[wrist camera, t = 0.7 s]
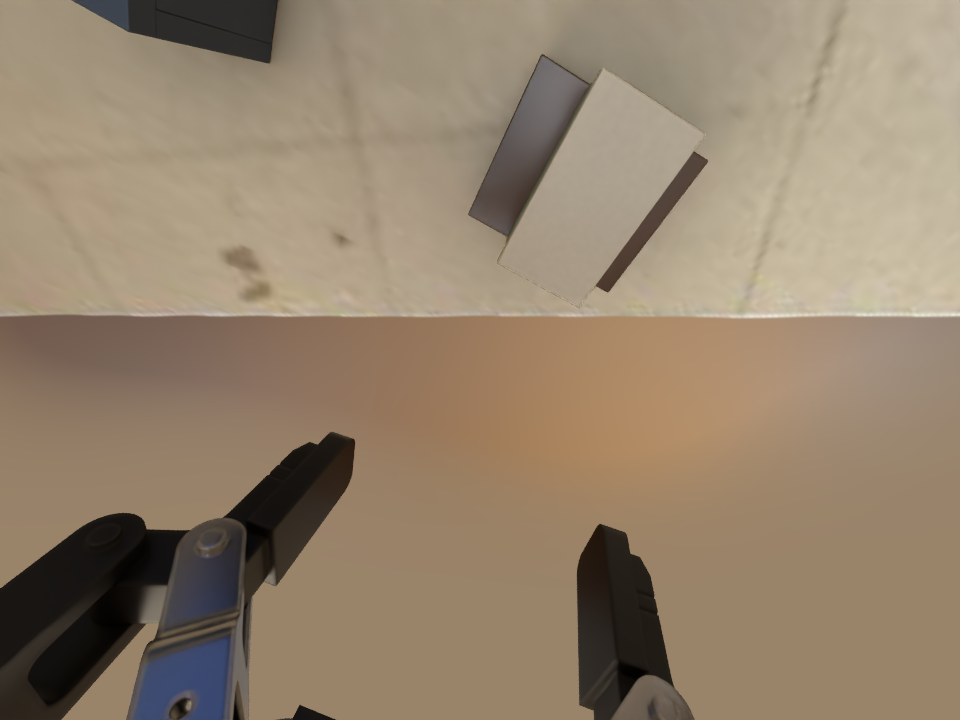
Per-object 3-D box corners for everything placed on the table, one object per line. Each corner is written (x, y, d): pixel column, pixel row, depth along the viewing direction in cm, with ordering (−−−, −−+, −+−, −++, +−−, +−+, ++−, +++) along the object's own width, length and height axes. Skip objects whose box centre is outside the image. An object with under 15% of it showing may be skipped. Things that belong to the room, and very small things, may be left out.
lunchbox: (504, 237, 27) (496, 263, 22) (588, 79, 22) (603, 66, 17) (572, 275, 28) (579, 308, 23) (670, 131, 23) (706, 134, 18)
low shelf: (475, 204, 30) (467, 214, 27) (541, 63, 25) (541, 53, 21) (601, 275, 32) (608, 293, 28) (687, 156, 26) (709, 161, 23)
